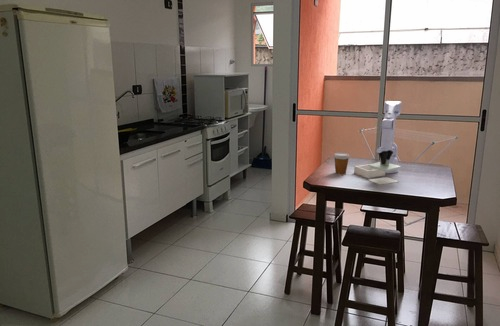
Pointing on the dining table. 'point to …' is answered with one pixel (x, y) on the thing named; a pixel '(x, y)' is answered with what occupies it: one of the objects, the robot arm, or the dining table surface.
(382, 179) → the mat
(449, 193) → the dining table surface
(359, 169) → the tub
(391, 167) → the lid
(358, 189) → the dining table surface
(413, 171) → the dining table surface
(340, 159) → the disposable coffee cup
